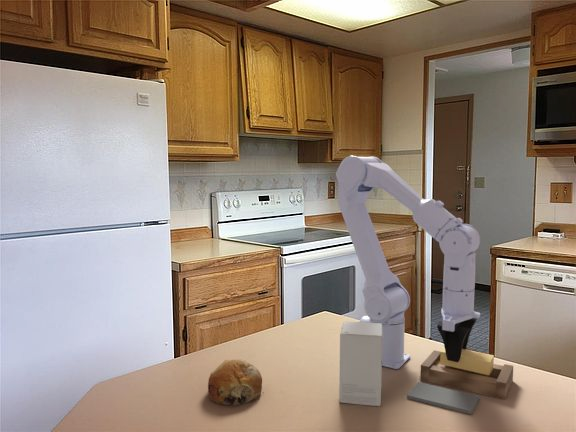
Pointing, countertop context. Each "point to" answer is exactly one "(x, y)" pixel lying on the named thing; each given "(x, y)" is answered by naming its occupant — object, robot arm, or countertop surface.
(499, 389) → the pocket board
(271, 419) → the countertop surface
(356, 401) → the supplement box
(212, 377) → the bread roll
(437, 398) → the mat
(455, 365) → the bar
